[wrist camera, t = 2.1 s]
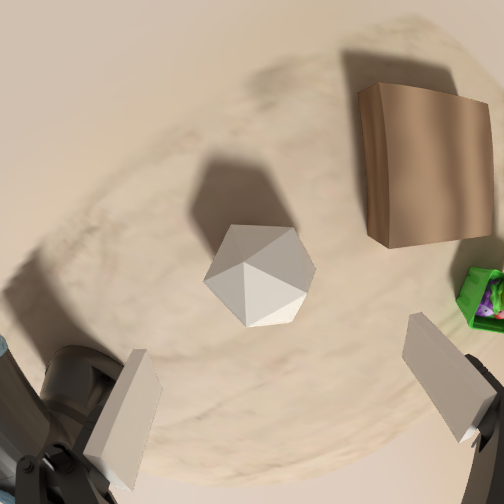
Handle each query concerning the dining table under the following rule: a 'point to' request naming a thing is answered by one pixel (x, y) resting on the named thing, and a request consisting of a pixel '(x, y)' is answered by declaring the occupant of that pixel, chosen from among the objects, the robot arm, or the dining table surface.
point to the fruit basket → (483, 299)
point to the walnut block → (426, 165)
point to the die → (261, 274)
